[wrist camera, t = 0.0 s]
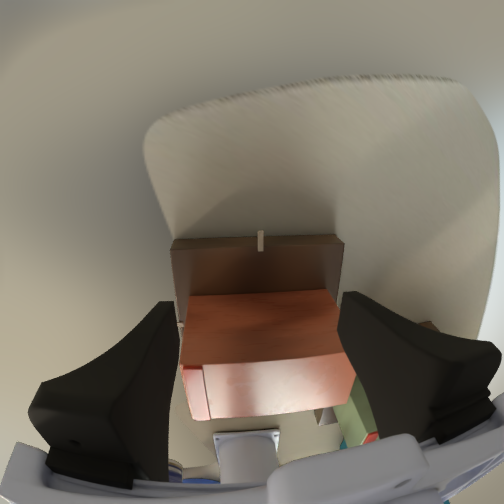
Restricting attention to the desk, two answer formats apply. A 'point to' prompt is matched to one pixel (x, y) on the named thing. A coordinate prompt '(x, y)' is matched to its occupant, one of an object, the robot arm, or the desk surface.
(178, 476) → the pill bottle
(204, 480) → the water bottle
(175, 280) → the front stand
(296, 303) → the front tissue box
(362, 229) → the desk surface
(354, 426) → the green box
